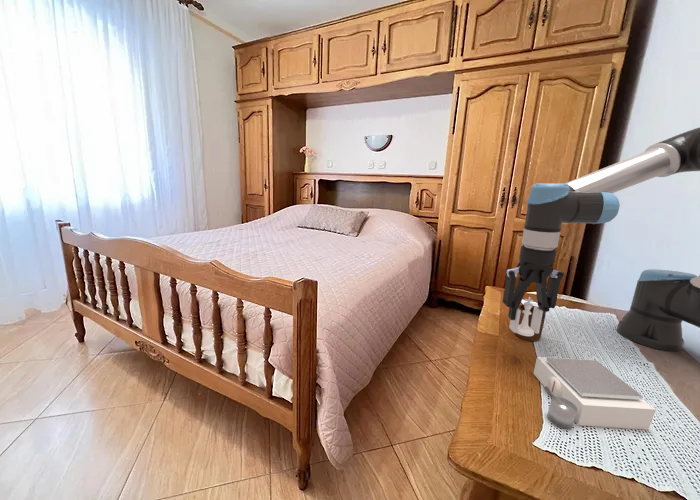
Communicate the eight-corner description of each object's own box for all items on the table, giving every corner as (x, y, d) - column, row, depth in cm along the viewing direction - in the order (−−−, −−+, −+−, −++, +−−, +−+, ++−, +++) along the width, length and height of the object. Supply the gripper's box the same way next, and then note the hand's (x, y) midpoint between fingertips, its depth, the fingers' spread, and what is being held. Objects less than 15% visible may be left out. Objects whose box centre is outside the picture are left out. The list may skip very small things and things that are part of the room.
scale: (588, 376, 74) (593, 358, 72) (648, 429, 58) (656, 407, 57) (531, 373, 74) (535, 355, 73) (575, 425, 59) (581, 403, 57)
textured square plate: (595, 363, 71) (596, 360, 70) (641, 399, 59) (642, 396, 59) (546, 360, 71) (546, 357, 71) (581, 396, 59) (582, 392, 59)
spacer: (562, 412, 62) (566, 397, 61) (578, 429, 58) (583, 413, 57) (542, 411, 62) (546, 396, 61) (556, 428, 58) (561, 412, 57)
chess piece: (537, 337, 74) (544, 301, 72) (516, 335, 75) (522, 300, 73) (529, 327, 79) (536, 294, 76) (510, 325, 80) (515, 292, 77)
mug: (527, 349, 85) (533, 321, 83) (502, 337, 91) (507, 310, 89) (544, 337, 92) (550, 310, 90) (519, 327, 98) (524, 302, 96)
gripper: (565, 243, 74) (549, 324, 80) (495, 242, 75) (484, 322, 81) (587, 251, 67) (567, 339, 73) (509, 249, 68) (495, 336, 74)
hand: (523, 330), depth 77 cm, fingers closed on chess piece, 5 cm apart
